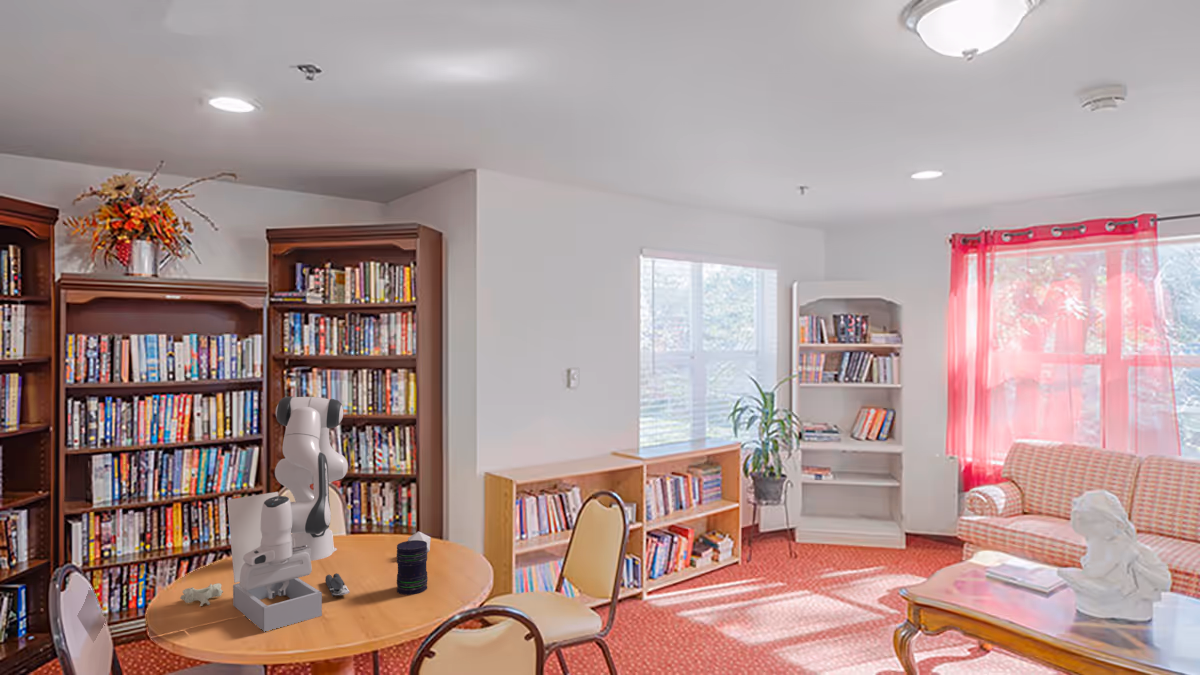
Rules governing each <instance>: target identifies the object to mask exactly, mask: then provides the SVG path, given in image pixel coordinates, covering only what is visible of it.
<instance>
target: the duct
mask: <svg viewBox="0 0 1200 675" xmlns="http://www.w3.org/2000/svg"><path fill="white" fill-rule="evenodd" d="M282 586H283V583H282V582H279V583H275V584H272V588H270V590H271V591H274V592H275V596H279V595H278V593H279V592H278V589H281V588H282ZM232 594H233V595H232V597H233V598H232V601H233V602H232V605H233V607H234V608H236V609H237V611H239V612H241V613H242V615H245V616H246V617H247V618H248V619H250V620H251V621H252V622H253V623H254V624H256V625H257V626H258V627H259V628H260V629H262V630H263V631H264V632H265V631H269V630H272V629H275V630H277V629H276V628H279V629H281V628H280V627H282V628H284V627H283V626H285V627H288V626H287V625H289V626H292V625H295V624H298V622H299V623H302V622H305V621H308V620H312V619H314V618H315V617H316V618H320V617H322V616H323V608H322V607H323V604H322V603H323V596H322V595H323V594H322V591H320V590H319V589H317V588H315V587H313V586H312V585H310V584H309V583H307V582H305V581H304V580H303V579H301V578H300V577H299V578H295V579H291V580H289V585H288V586H287V588H286V590H285V595H284V596H286V597H288V598H289V599H287V600H284V601H280V602H276V603H272V604H268V605H267V604H265V603H264V602H263V601H261V600H263V599H269V597H268V592H267V590H266V589H265V588H264V586H263V587H259V588H255V589H251V590H247V591H245V590H244V589H242V588H241V587H240V582H237V583H235V584H233V585H232ZM246 617H245V618H246ZM247 618H246V619H247ZM248 619H247V620H248ZM304 620H305V621H304ZM251 621H250V622H251ZM301 621H302V622H301ZM252 622H251V623H252ZM253 623H252V624H253ZM294 623H295V624H294ZM254 624H253V625H254ZM291 624H292V625H291ZM256 625H255V626H256ZM257 626H256V627H257ZM258 627H257V628H258ZM259 628H258V629H259ZM260 629H259V630H260ZM262 630H261V631H262ZM263 631H262V632H263ZM272 631H273V630H272ZM264 632H263V633H264ZM269 632H270V631H269ZM265 633H266V632H265Z"/></svg>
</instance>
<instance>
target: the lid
mask: <svg viewBox="0 0 1200 675" xmlns="http://www.w3.org/2000/svg"><path fill="white" fill-rule="evenodd" d="M276 496H279V492H278V491H275V492H274V491H273V492H267V493H262V494H256V495H248V496H243V497H242V496H241V497H236V498H230V499H227V500H226V501H227V511H228V524H229V535H230V546H231V548H230V549H231V558H232V560H231V561H232V570H233V572H232V573H233V582H234V583H235V584H237V583H240V572H241V568H242V566H243V564H244V563H246V562H245V561H244V560H243V556H244V555H245V554H247V553H248V552H250V551H252V550H254V549H256V548H258V547H260V546H261V539H262V533H261V529H260V525H261V512H262V506H263V503H264V501H266V500H267V499H269V498H272V497H276Z"/></svg>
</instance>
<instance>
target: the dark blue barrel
mask: <svg viewBox="0 0 1200 675" xmlns="http://www.w3.org/2000/svg"><path fill="white" fill-rule="evenodd" d="M427 561H428V552H427V542H425V541H420V540H412V541H408V540H406V541H402V542H400V543H398V544H396V563H397V575H396V588H397V589H396V592H397V593H398V594H399V595H402V596H403V595H405V596H410V595H411V596H413V595H419V594H421V593H424V592H425V591H427V589H428V571H427Z"/></svg>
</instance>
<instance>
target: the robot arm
mask: <svg viewBox="0 0 1200 675" xmlns="http://www.w3.org/2000/svg"><path fill="white" fill-rule="evenodd" d="M275 417H276V421H277V423H279V424H280V426H284V427H286V428H285V430H284V435H283V436H284V437H283V442H282V455H283V457H284V458H282V459H280V460H279V461H278V462H277V463H276V466H275V469H274V476H275V479H276V481H277V482H278V483H279V484H280V485H282V486H283V487H285V488H286V489H288V490H289V491H290V493H291V494H292V496H293V499H294V500H295V501H291V500H290V497H289V496H285V495H278V496H276V497H272V498H269V499H267V500H266V501H264V503H263V506H262V512H261V525H260V529H261V533H262V539H261V546H260V547H258V548H256V549H254V550H252V551H250V552H248V553H247V554H245V555H244V556H243V560H244V561H245V562H246V563H244V564H243V566H242V568H241V572H240V582H239V583H240V587H241V588H242V589H244V590H245V591H247V590H251V589H255V588H259V587H263V586H264V588H265V589H266V590H267V592H268V599H269V600H272V599H275V598H276V595H275V592H274V591H271V590H270V588H272V584H275V583H279V582H282V583H283V586H282V588H281V589H278V592H279V593H278V595H277V596H279V597H283V596H284V597H285V596H286V595H285V590H286V588H287V586H288V585H289V580H291V579H295V578H299V579H300V578H303V577H307V576H310V575H311V573H312V572H313V571H312V570H313V568H312V561H317V560H321V559H322V560H323V559H326V558H327V557H328V558H329V557H330V556H332V554H333V553H334V552H335V551H338V548H337V547H335V546H334V536H333V530H331V529H330V525H331V520H332V519H331V518H332V512H331V504H330V490H329V489H330V487H329V484H330V483H332V482H335V481H339V480H341V479H344V477H345V476H346V475H347V473H348V470H349V463H348V460H347V458H346V456H344V455H343V454H341V453H340V452H337V451H336V450H335V449H334V448H333V447H332V444H331V443H330V442H331V441H330V429H334V428H337V427H338V426H339V425H340V424H341V422H342V420H343V417H344V407H343V404H342V403H341V401H340V400H338V399H335V398H325V397H317V396H311V397H310V396H285V397H284V396H283V397H282V398H281V399H280V400H279V401H278V403H277V406H276V408H275ZM312 484H313V489H312V488H311V487H310V486H311V485H312Z"/></svg>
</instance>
